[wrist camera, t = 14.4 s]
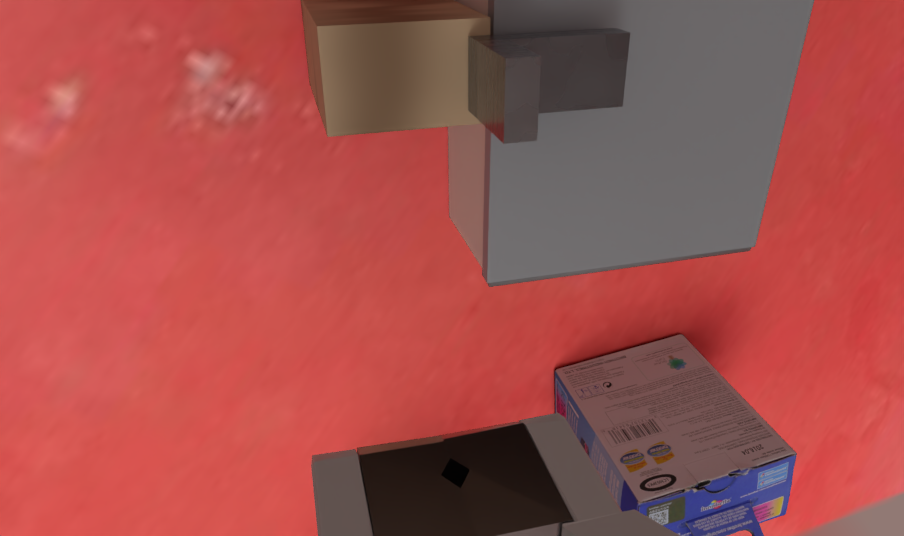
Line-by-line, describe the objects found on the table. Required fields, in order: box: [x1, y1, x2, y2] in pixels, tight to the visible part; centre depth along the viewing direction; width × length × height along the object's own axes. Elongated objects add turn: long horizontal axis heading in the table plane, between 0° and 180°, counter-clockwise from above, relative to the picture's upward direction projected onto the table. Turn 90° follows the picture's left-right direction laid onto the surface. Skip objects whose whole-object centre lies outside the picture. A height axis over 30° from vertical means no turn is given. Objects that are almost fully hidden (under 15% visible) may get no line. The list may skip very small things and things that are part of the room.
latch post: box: [301, 0, 490, 137], centre depth 30 cm, size 6×4×9 cm, turn 91°
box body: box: [448, 0, 488, 267], centre depth 35 cm, size 14×14×7 cm
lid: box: [482, 0, 814, 287], centre depth 31 cm, size 14×15×1 cm
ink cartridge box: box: [555, 334, 797, 536], centre depth 42 cm, size 10×6×14 cm, turn 98°
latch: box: [468, 28, 630, 144], centre depth 25 cm, size 6×3×4 cm, turn 91°
